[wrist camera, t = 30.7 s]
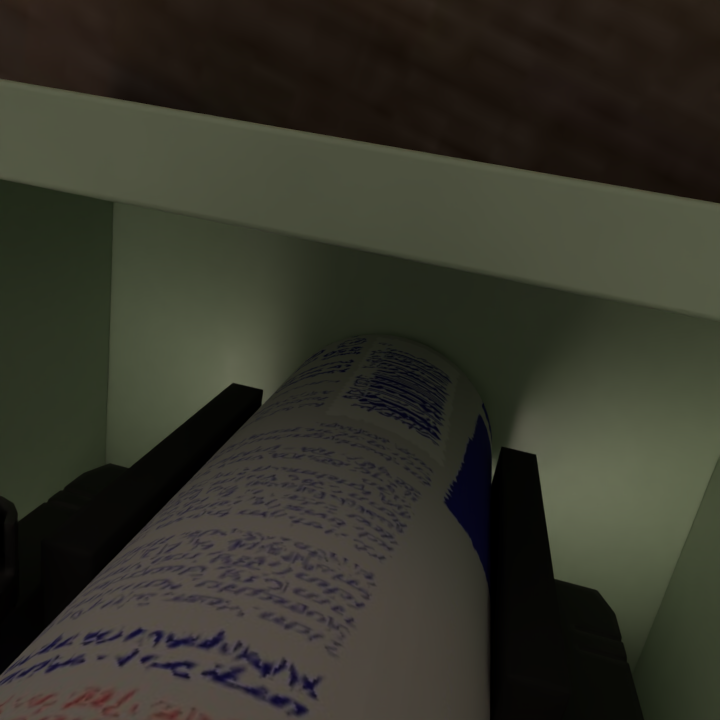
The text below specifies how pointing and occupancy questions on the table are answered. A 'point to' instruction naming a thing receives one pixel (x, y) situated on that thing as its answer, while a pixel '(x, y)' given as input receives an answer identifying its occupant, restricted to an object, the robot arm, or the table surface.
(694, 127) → the table surface
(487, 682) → the beverage can
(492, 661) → the robot arm
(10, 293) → the chest
